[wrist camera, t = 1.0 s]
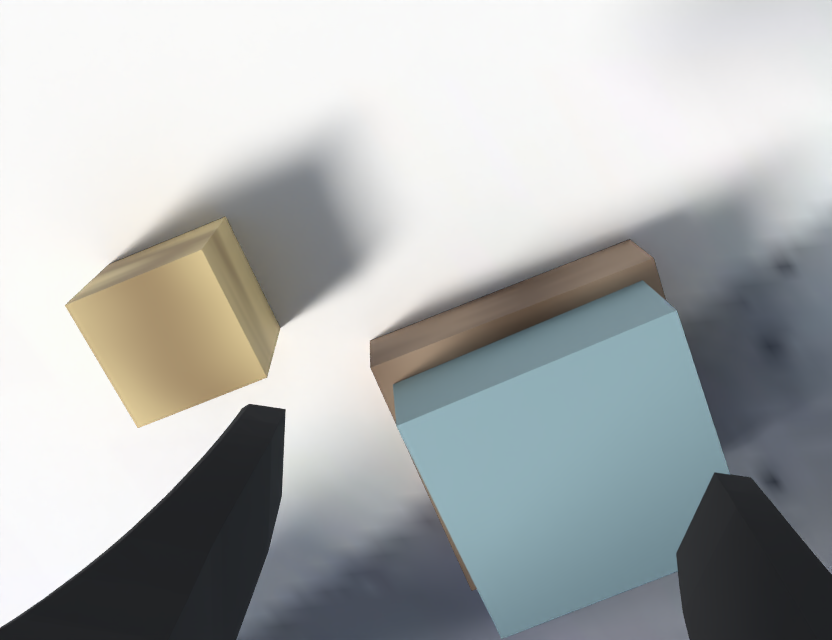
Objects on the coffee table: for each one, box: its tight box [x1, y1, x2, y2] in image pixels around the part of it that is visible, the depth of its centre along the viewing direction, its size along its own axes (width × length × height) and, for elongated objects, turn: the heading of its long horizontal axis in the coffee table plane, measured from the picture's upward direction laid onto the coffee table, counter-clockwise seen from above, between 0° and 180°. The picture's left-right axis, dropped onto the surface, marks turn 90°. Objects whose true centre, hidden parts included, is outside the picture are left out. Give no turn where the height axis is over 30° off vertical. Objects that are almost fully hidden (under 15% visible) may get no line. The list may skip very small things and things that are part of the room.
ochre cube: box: [65, 217, 280, 428], centre depth 26 cm, size 4×4×4 cm
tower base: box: [370, 239, 666, 591], centre depth 29 cm, size 10×10×3 cm
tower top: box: [393, 280, 730, 639], centre depth 26 cm, size 9×9×3 cm
